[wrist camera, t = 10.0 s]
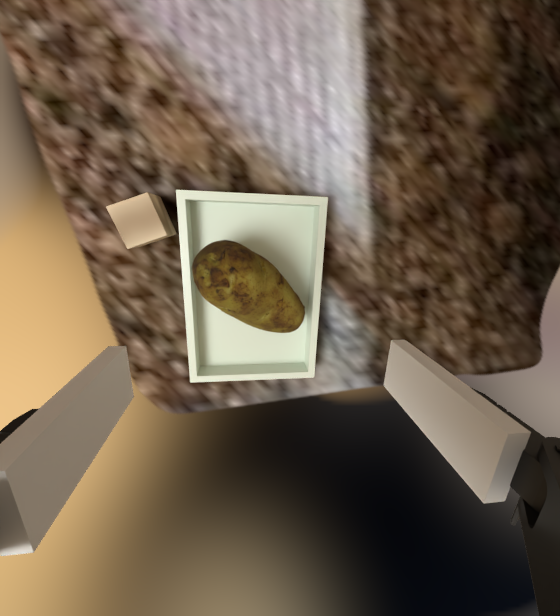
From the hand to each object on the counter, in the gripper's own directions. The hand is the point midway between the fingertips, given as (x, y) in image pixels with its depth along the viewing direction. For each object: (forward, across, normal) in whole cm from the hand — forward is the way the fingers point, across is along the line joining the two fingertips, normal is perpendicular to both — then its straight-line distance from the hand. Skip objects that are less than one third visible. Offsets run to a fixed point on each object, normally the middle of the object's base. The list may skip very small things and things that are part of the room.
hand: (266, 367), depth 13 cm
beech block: (+20, -11, +7) cm, 24 cm away
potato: (+19, 0, 0) cm, 19 cm away
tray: (+20, 0, -1) cm, 20 cm away
